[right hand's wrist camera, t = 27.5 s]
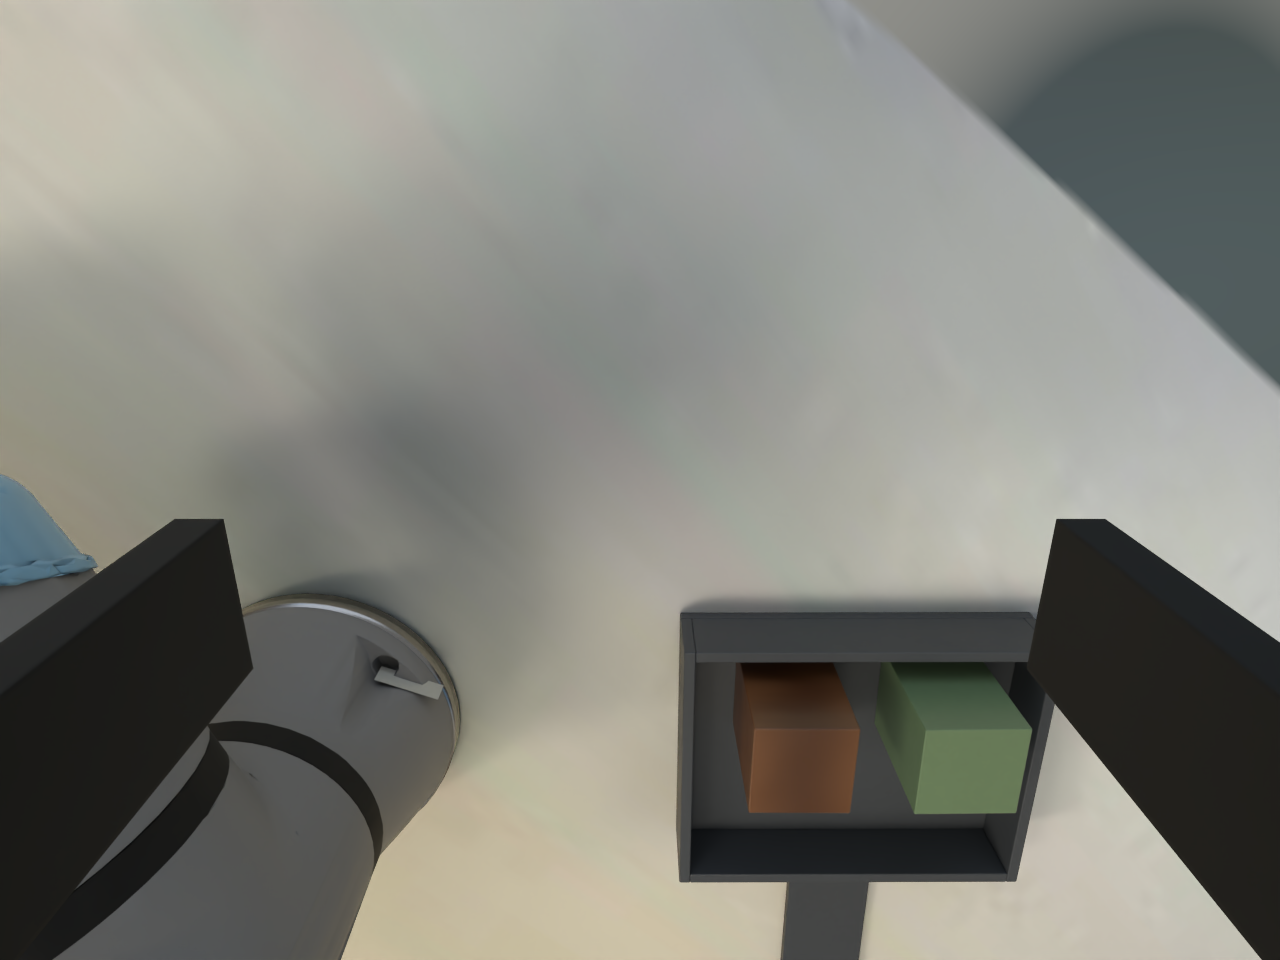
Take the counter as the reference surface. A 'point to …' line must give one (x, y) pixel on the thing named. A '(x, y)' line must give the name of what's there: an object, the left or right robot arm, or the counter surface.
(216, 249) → the counter surface
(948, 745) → the sage block
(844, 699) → the walnut block
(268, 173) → the counter surface
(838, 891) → the tray
